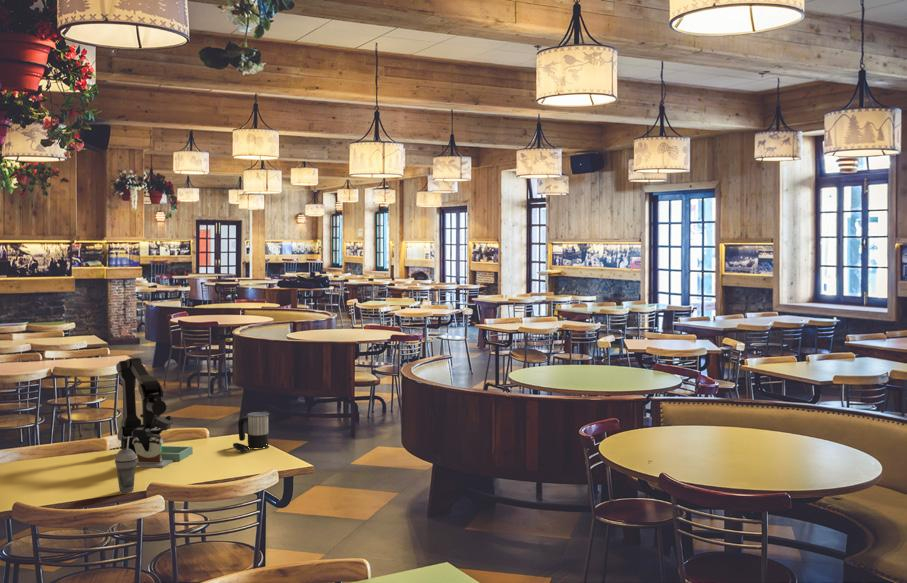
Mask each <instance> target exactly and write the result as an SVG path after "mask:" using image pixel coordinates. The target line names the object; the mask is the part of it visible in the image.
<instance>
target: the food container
mask: <svg viewBox="0 0 907 583" xmlns="http://www.w3.org/2000/svg"><path fill="white" fill-rule="evenodd" d="M150 435H153V436H152V437H151V438H150V444H149V451H148V452H146V451H145V449H144V447H143V446H142V444H141V442H140V441H139V439H138V438H137V437H136V438H135V439H133V441H132V444H134V447H135V451H136V458H137V459H136V460H138V463H161V462H162V446H163V444H164V440H163V438H162V436H161V434H160V435H157V434H150Z"/></svg>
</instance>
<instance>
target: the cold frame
mask: <svg viewBox="0 0 907 583" xmlns="http://www.w3.org/2000/svg"><path fill="white" fill-rule="evenodd" d="M193 449H194V448H193V446H183V445H182V446H179V445H177V446H176V445H174V446H173V445H162V460H172V462H180V461H183V460H184V459H186V458H188V457H189V455H190V456H191V455H193V454H194V452H193Z"/></svg>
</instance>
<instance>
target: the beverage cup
mask: <svg viewBox="0 0 907 583" xmlns="http://www.w3.org/2000/svg"><path fill="white" fill-rule="evenodd" d="M128 445H129V436H128V440H127V448H124V449H121V448H120V449H119V451H118V452H117V453H116V455H115V460H114V464H115V466H116V474H117V482H118V489H119V493H120V492H121V493H120V494H123V493H125V494H129V493H128V492H131V493H133V492H134V489H135V488H134V487H135V475H136V467H135V465H136V461H137V460H138V459H137V455H136V454H135V453H134V451H133V450H131V449H129V448H128ZM132 491H133V492H132Z"/></svg>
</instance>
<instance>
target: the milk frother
mask: <svg viewBox="0 0 907 583" xmlns="http://www.w3.org/2000/svg"><path fill="white" fill-rule="evenodd" d="M269 415H270V413H269V412H265V411H256V412H255V411H253V412H249V413H247V414H246V415H245V416H242V417H240V419H238V422H237V427H238V428H237V429H238V430H237V431H238V439H239V441H241V442H242V441H245V439H246V429H245V428H246V427H245V422H247V445H245V444H243V443H238V442H234V443H233V444H232V446H233V448H234V449H235V450H236V451H239V452H240V453H241V452H242V453H248V452H250V450H251V449H249V448H263V447H265V449H267V447H268V448H270V445H269ZM266 444H267V445H266ZM268 445H269V446H268ZM248 447H249V448H248ZM247 451H248V452H247Z"/></svg>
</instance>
